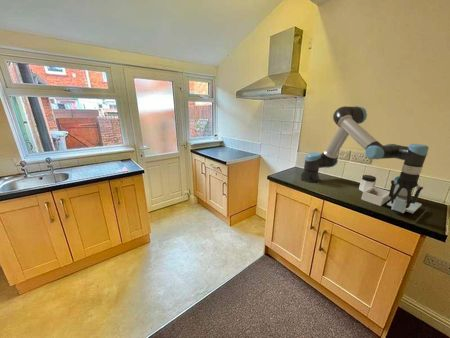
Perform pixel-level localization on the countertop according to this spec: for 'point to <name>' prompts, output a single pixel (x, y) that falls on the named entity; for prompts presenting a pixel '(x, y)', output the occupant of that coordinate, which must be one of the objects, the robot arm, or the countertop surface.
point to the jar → (367, 182)
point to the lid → (400, 204)
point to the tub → (376, 196)
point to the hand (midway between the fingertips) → (397, 210)
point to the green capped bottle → (403, 192)
